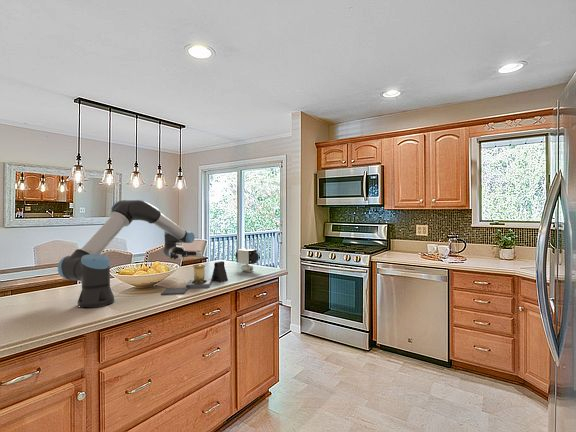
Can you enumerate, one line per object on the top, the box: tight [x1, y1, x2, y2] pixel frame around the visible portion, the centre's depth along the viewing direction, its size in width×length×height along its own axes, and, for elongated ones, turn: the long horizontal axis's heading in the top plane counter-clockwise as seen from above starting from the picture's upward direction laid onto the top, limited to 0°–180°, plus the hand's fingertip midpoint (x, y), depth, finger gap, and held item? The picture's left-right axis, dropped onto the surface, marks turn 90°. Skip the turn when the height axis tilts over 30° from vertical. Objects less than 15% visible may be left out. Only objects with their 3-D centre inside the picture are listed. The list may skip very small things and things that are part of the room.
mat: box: [160, 286, 190, 296], centre depth 175 cm, size 12×12×1 cm
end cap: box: [192, 263, 206, 284], centre depth 189 cm, size 7×7×12 cm
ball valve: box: [234, 247, 259, 273], centre depth 231 cm, size 18×8×18 cm, turn 49°
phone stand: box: [211, 260, 229, 283], centre depth 202 cm, size 9×6×12 cm, turn 56°
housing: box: [185, 278, 213, 289], centre depth 189 cm, size 14×13×2 cm
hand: (191, 255), depth 196 cm, fingers open, 13 cm apart
